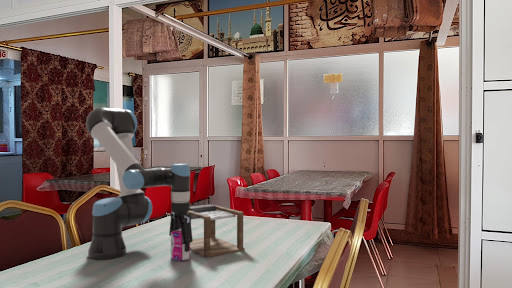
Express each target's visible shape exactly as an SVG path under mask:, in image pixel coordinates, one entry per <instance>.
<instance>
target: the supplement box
mask: <svg viewBox="0 0 512 288" xmlns="http://www.w3.org/2000/svg"><path fill="white" fill-rule="evenodd" d="M182 243H183V237H182V232H181V229H178V230H175V231H172V232H171V236H170V260H172V261H173V260H174V261H178V262H183V261H185V260H182ZM190 258H191V250H190V243H189V259H190Z"/></svg>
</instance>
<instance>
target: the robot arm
mask: <svg viewBox="0 0 512 288" xmlns="http://www.w3.org/2000/svg"><path fill="white" fill-rule="evenodd" d="M85 121H86V122H85V127H86V130H87V132H88V134H89V135H90V137H91V138H92V139H94V140H97V142H98V143H99V144H100V146H101V147H102V148H103V149H104V151H105V152H106V153H107V155H108V156H109V157H110V158H111V160H112V161H113V162H114V163H115V166H116V173H117V179H118V185H119V191H120V193H119V194H118V196H117V197H106V198H102V199H99V200H97V201H95V202H94V203H93V205H92V212H91V215H92V238H91V242H90V244H89V246H88V247H89V248H88V251H87V257H88V259H93V260H111V259H116V258H121V257H122V256H125V255H126V254H127V246H126V243H125V240H124V238H123V231H122V230H123V227H127V226H133V225H139V224H142V223H145V222H147V221H149V219H150V217H151V215H152V213H153V204H152V200H151V199H150V198H149V197H147V196H145V191H143V190H142V189H146V188H155V187H164V186H165V187H170V189H171V190H170V201H171V204H170V211H171V213H170V222H169V234H168V235H169V237H171V232H172V231H175V230H178V229H180V228H181V232H182V237H183V243H182V260H184V261H186V260H190V258H189V243H191V242H193V232H192V219H191V217H187V211H189V210H190V207H191V202H190V199H191V191H190V190H191V189H190V187H191V185H190V184H191V170H190V169H191V168H190V165H189V164H188V163H173V164H171V167H158V166H157V167H153V168H144V167H143V166H142V165H141V164H140V162H139V161H138V160H137V159H136V157H135V153H134V152H135V151H134V146H133V141H132V139H133V138H134V136H135V132H136V131H137V127H138V118H137V117H136V115H135V113H134V112H133V111H131V110H129V109H125V108H113V107H111V108H110V107H97V108H94V109H92V111H90V112H89V114H88V115H87V117H86V120H85Z"/></svg>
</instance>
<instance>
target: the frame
mask: <svg viewBox="0 0 512 288" xmlns="http://www.w3.org/2000/svg"><path fill="white" fill-rule="evenodd" d="M214 205H215V204H214ZM215 206H216V210H220V211H224V212H227V213H231V214H235V215H236V244H234V243H231V242H229V241H226V240H223V239H222V238H221V239H220V238H219V237H218V238H217V237H216V220H210V216H207V215H204V214H200V213H197V212H193V211H190V210H189V211H187V214H189V215H192V216H195V217H198V218H199V219H201V218H202V219H201V220H203V237H201V238H195V239H193V238H192V240H193V242H191V243H190V251H191V252H194V253H196V254H199V255H201V256H202V257H204V258H213V257H218V256H222V255H227V254H231V253H237V252H242V251H245V250H246V249H245V247H244V211H241V210H240V211H239V210H236V209H234V208H233V209H231V208H228V207H224V206H220V205H215ZM180 229H181V228H180Z"/></svg>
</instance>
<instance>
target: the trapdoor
mask: <svg viewBox="0 0 512 288" xmlns="http://www.w3.org/2000/svg"><path fill="white" fill-rule="evenodd" d="M190 211H193V212H197V213H200V214H204V215H207V216H210V220H215V221H216V220H222V219H230V218H237V215H236V214H233V213H229V212H225V211H221V210H217V209H216V206H215V204H211V203H210V204H203V205H192V206H191V205H190ZM187 217H191V220H199V219H201V220H203V219H202V218H198V217H195V216H192V215H189V214H187Z"/></svg>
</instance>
